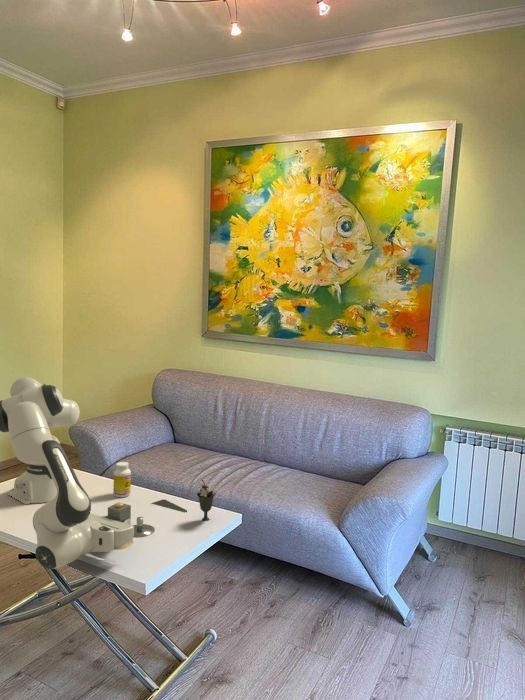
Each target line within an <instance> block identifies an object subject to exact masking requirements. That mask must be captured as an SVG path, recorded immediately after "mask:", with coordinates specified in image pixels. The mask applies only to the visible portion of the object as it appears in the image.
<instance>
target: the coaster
mask: <svg viewBox="0 0 525 700" xmlns="http://www.w3.org/2000/svg"><path fill="white" fill-rule="evenodd" d="M133 544H134V538H132V539H131V540H130V541H128V542H127V543H125V544H123V545H121V546H119V547H114V550H123V549H127V548H130V547H131V546H132V545H133Z"/></svg>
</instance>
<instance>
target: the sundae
mask: <svg viewBox="0 0 525 700" xmlns="http://www.w3.org/2000/svg"><path fill="white" fill-rule="evenodd" d="M201 482H202V483H203V485H202V486H201V489H200V490H199V492H197V493H196V496H197V497H198V500H199V507H200V510H201V512H203V517H202V518H201V521H202V522H210V520H211V519H209V518H210V517H209V516H208V513H209V512H210V511H211V510H212V507H213V501H214V497H215V496H216V492H214V491H213V490H212V489H211V488H210V486H207V485H206V484H205V481H204V480H203V479H201Z"/></svg>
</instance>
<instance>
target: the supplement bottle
mask: <svg viewBox="0 0 525 700" xmlns="http://www.w3.org/2000/svg"><path fill="white" fill-rule="evenodd" d="M115 467H116V469H115V470H114V471H113V489H112V490H113V496H114V497H115V498H125V497H126V498H127V497H129V496H130V494H131V491H132V490H131V481H132V476H131V475H132V474H131V473H132V472H131V469H130V468H129V462H127V461H120V462H117V463H116V464H115Z"/></svg>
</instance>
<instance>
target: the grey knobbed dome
mask: <svg viewBox="0 0 525 700" xmlns="http://www.w3.org/2000/svg"><path fill="white" fill-rule="evenodd" d="M132 526H134V537H133V538H145V537H146V538H147V537H149V536H151V535H153V534H154V533H155V530H156V529H155V527H154V526H152V525H150V524H145V523H144V517H143V516H138V517H136V524H133V525H132Z"/></svg>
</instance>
